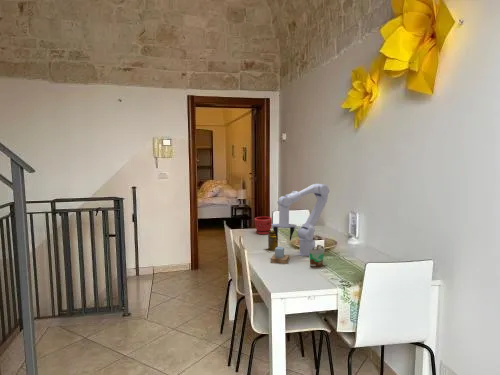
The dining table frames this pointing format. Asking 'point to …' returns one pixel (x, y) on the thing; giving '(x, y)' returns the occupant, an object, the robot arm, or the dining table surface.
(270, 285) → the dining table surface
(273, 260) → the base
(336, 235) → the dining table surface
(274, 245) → the condiment
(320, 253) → the food container
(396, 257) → the dining table surface
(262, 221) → the plant pot
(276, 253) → the block
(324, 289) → the dining table surface
